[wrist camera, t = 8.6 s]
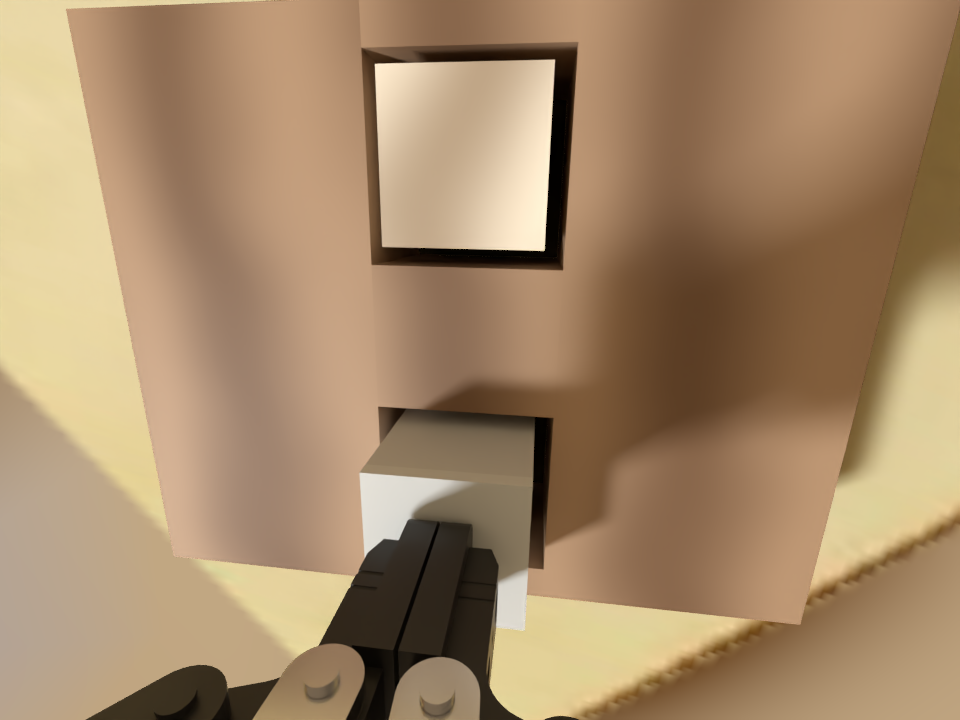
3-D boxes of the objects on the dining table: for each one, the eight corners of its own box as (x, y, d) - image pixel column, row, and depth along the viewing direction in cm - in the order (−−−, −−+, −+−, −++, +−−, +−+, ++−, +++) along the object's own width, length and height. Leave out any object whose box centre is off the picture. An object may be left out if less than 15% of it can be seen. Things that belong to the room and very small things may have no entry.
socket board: (823, 59, 14) (969, -28, 9) (733, 521, 18) (800, 624, 14) (205, 72, 16) (66, 9, 12) (258, 479, 21) (173, 556, 16)
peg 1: (550, 112, 15) (555, 59, 10) (543, 243, 16) (544, 250, 11) (427, 114, 15) (374, 63, 10) (428, 240, 16) (382, 246, 12)
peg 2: (535, 404, 15) (532, 487, 10) (529, 511, 16) (524, 630, 11) (415, 397, 16) (359, 472, 11) (417, 501, 17) (368, 612, 12)
